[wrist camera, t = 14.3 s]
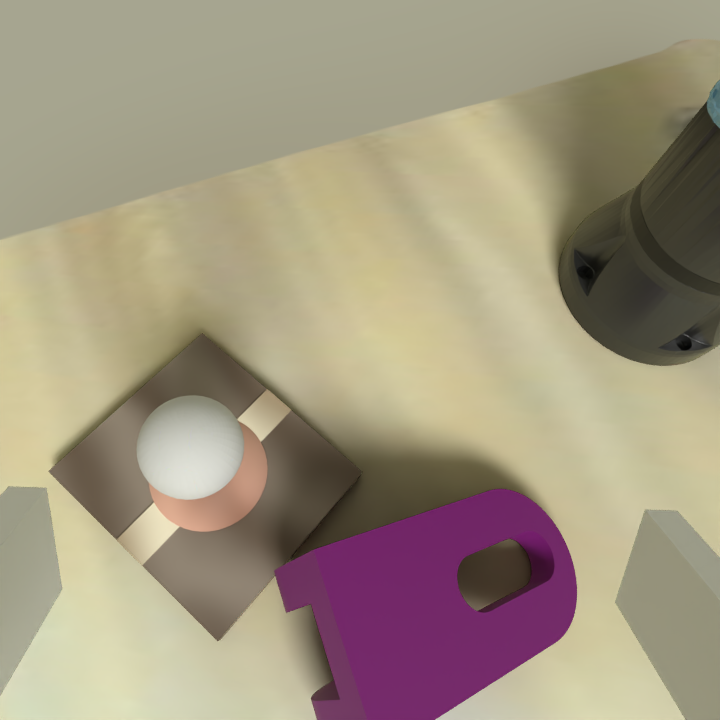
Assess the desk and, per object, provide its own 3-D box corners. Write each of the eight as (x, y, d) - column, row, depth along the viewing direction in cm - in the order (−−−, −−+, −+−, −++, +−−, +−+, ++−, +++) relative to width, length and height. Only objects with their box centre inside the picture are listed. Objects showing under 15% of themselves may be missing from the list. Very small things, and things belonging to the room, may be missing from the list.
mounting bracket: (459, 509, 47) (254, 579, 36) (534, 475, 41) (313, 548, 30) (509, 631, 44) (301, 748, 33) (599, 616, 37) (377, 756, 26)
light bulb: (243, 420, 40) (225, 369, 31) (262, 501, 38) (249, 471, 29) (159, 442, 39) (115, 395, 30) (174, 526, 37) (131, 504, 28)
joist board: (204, 339, 44) (201, 331, 43) (360, 475, 41) (362, 471, 40) (55, 474, 39) (47, 470, 38) (220, 639, 36) (217, 641, 35)
